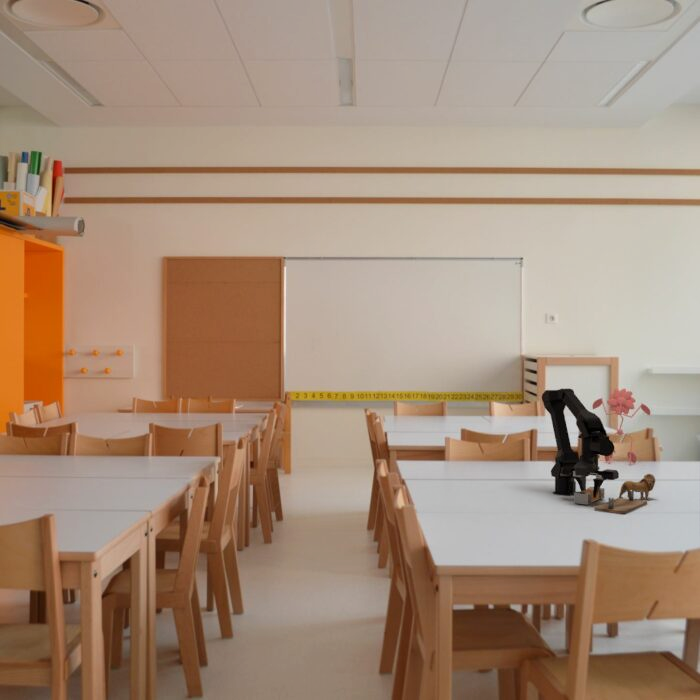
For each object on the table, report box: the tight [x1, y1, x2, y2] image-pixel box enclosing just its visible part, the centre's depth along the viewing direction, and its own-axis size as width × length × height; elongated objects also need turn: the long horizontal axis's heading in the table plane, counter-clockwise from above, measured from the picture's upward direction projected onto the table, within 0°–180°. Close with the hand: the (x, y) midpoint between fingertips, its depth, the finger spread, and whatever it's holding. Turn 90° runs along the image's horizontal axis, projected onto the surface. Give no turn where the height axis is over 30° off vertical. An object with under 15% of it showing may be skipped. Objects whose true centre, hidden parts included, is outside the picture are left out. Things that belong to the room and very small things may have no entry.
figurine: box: [592, 388, 651, 466], centre depth 368 cm, size 15×26×35 cm, turn 67°
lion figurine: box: [618, 473, 656, 502], centre depth 279 cm, size 15×5×9 cm, turn 105°
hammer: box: [573, 486, 605, 505], centre depth 275 cm, size 5×15×4 cm, turn 141°
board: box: [593, 490, 648, 516], centre depth 265 cm, size 10×22×4 cm, turn 141°
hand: (589, 497), depth 275 cm, fingers closed on hammer, 3 cm apart
